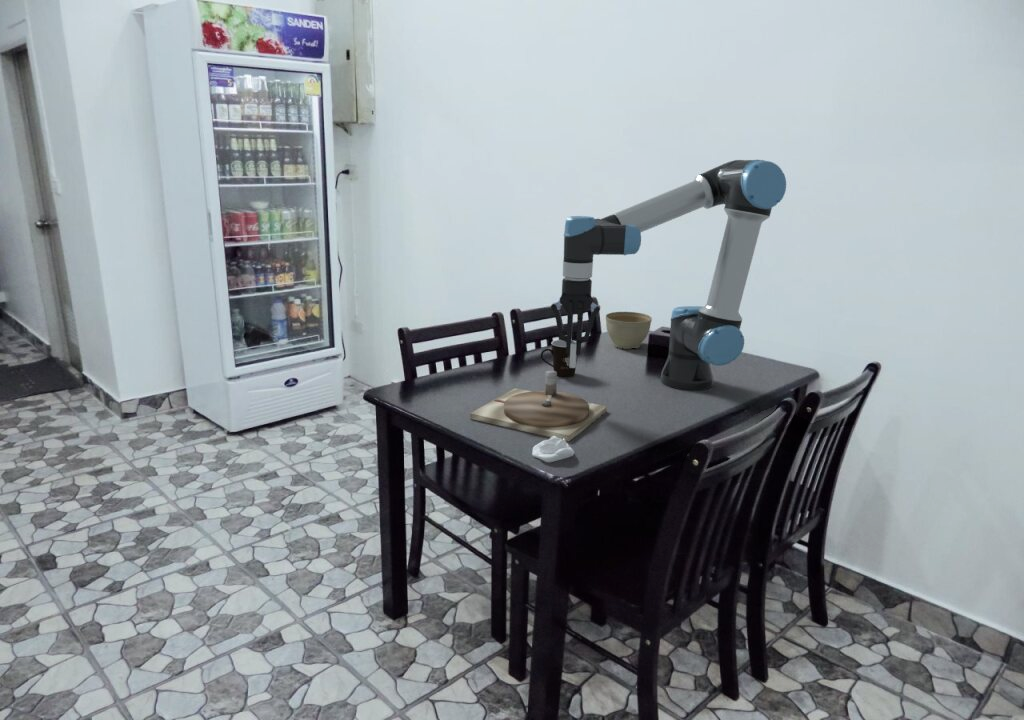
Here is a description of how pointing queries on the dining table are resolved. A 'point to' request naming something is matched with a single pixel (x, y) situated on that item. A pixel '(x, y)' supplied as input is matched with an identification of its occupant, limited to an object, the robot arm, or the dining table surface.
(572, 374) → the coffee mug
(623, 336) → the planter bowl
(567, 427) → the dial board
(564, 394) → the wheel
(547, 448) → the crumpled white cloth
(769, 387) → the dining table surface
